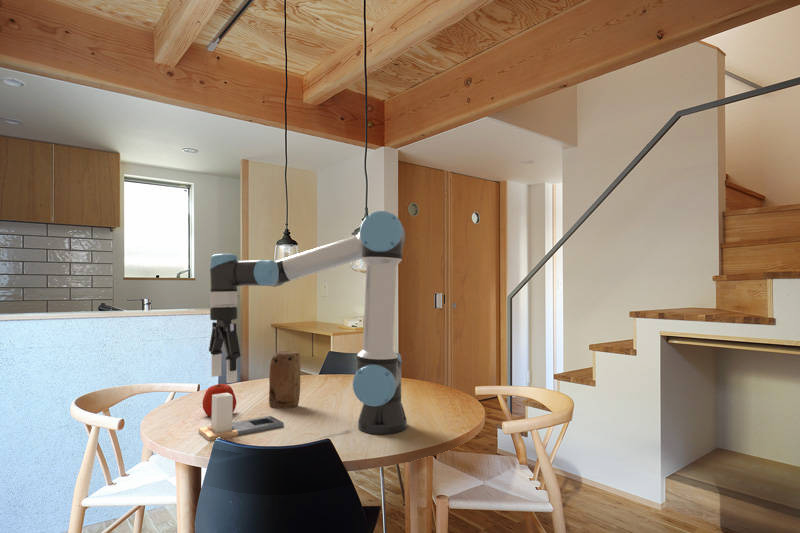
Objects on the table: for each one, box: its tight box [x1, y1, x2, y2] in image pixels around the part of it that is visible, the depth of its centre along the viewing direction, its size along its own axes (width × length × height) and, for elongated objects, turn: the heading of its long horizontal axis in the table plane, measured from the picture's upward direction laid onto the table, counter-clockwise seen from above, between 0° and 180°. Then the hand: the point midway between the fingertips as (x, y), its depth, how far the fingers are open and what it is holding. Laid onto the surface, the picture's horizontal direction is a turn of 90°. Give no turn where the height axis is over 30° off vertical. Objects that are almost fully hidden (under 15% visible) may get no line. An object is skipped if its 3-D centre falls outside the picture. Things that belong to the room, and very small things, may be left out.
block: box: [268, 350, 301, 409], centre depth 170 cm, size 11×8×20 cm
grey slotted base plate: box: [198, 415, 285, 442], centre depth 140 cm, size 10×22×2 cm, turn 129°
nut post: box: [210, 393, 233, 433], centre depth 136 cm, size 4×4×11 cm
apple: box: [202, 383, 237, 418], centre depth 159 cm, size 11×11×11 cm
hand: (223, 379), depth 137 cm, fingers open, 13 cm apart
